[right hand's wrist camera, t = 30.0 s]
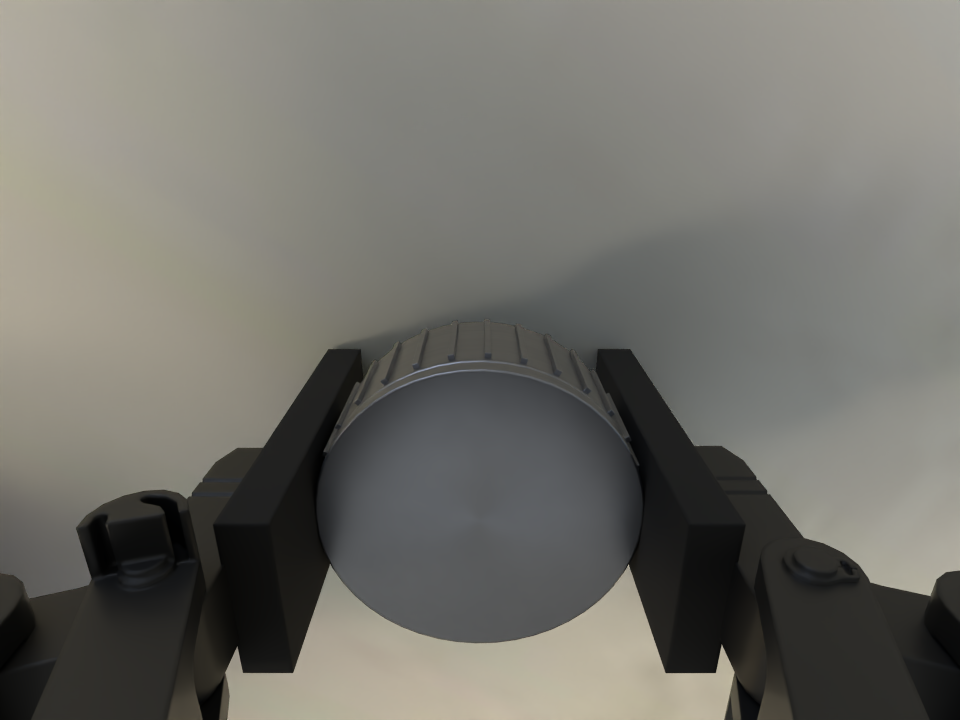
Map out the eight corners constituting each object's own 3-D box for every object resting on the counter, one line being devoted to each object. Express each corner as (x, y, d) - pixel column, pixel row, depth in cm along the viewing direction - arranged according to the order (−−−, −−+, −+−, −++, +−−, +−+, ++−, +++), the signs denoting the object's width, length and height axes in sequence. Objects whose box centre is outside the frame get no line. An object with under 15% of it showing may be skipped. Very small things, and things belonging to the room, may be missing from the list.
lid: (287, 467, 13) (246, 542, 10) (455, 255, 11) (449, 290, 9) (498, 600, 14) (501, 691, 12) (677, 429, 12) (720, 498, 10)
